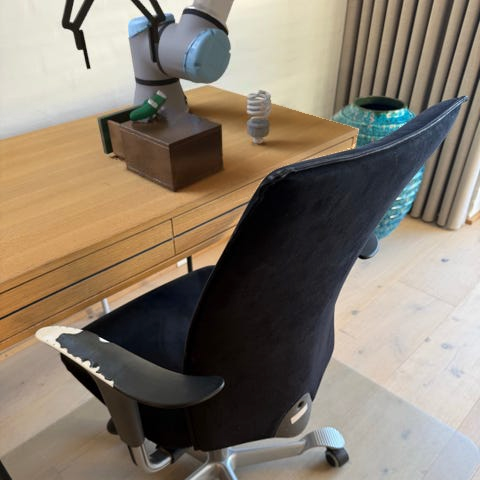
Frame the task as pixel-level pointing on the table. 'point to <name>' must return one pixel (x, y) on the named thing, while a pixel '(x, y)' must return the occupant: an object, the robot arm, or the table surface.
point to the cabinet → (173, 148)
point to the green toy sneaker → (149, 107)
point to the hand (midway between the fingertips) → (121, 64)
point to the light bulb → (258, 124)
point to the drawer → (114, 130)
